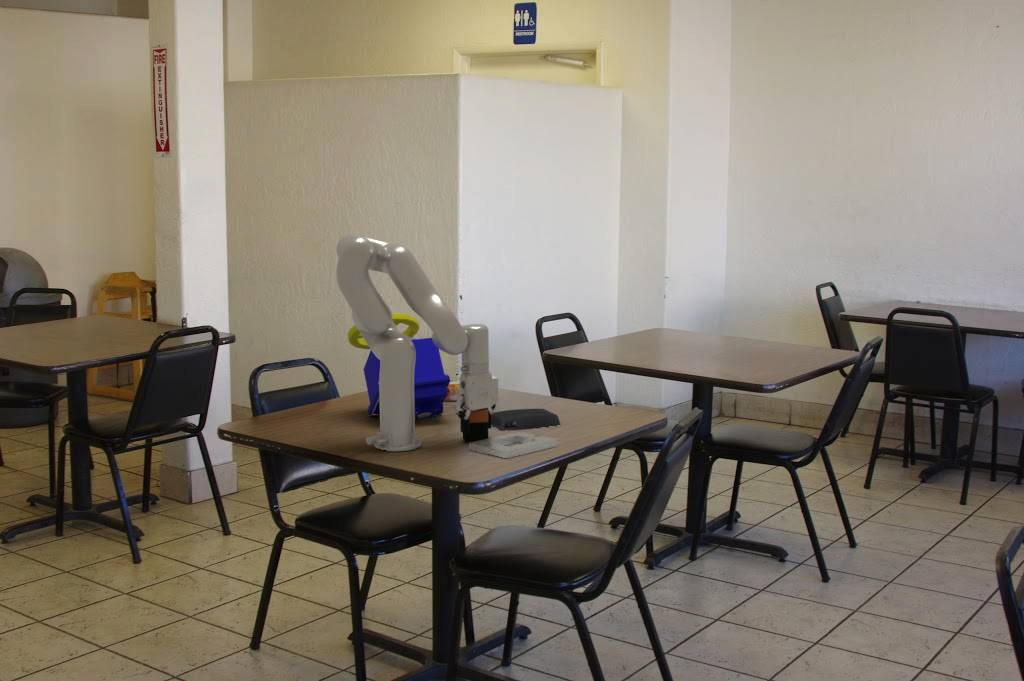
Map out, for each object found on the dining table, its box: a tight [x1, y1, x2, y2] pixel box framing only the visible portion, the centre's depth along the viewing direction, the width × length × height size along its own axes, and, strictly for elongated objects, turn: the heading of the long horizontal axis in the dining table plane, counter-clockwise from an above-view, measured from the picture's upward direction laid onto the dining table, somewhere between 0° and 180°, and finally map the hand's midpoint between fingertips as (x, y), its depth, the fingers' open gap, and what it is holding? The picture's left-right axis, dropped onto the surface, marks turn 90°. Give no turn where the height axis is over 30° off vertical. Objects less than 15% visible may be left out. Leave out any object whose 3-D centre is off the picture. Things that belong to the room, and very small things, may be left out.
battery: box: [462, 408, 489, 443], centre depth 313 cm, size 4×7×10 cm, turn 102°
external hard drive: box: [491, 408, 561, 432], centre depth 334 cm, size 13×19×4 cm
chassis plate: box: [468, 430, 558, 459], centre depth 304 cm, size 20×14×2 cm
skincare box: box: [492, 375, 500, 412], centre depth 347 cm, size 6×4×12 cm
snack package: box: [444, 380, 460, 402], centre depth 372 cm, size 21×7×7 cm, turn 96°
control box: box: [347, 312, 451, 421], centre depth 342 cm, size 26×27×30 cm
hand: (476, 429), depth 313 cm, fingers closed on battery, 7 cm apart
